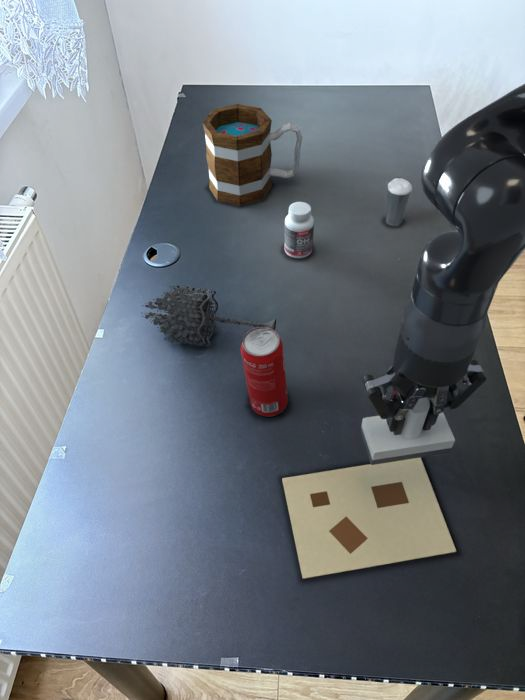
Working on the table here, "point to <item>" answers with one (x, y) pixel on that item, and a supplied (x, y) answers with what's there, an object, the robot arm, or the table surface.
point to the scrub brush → (406, 437)
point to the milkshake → (397, 200)
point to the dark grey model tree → (191, 315)
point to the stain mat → (365, 517)
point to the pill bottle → (299, 230)
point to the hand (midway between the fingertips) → (409, 426)
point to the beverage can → (265, 371)
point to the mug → (243, 153)
